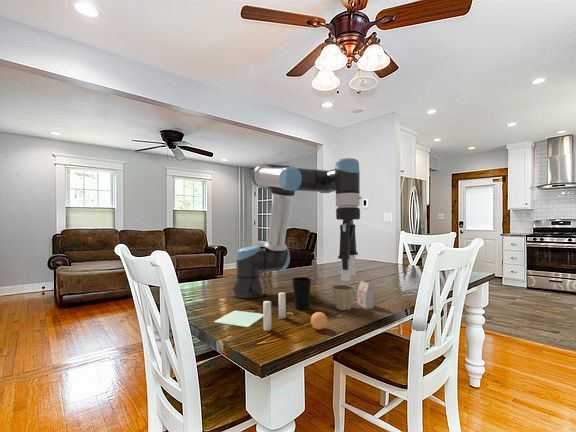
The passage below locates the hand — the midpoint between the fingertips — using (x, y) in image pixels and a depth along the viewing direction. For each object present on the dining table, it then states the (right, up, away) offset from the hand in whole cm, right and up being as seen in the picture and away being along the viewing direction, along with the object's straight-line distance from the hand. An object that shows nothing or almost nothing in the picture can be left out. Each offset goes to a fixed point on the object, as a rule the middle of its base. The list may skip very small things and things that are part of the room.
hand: (348, 277), depth 92 cm
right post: (-22, -18, +15) cm, 32 cm away
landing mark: (-37, -18, +15) cm, 44 cm away
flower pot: (+3, -19, +26) cm, 32 cm away
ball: (-9, -15, +3) cm, 18 cm away
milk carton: (+13, -19, +29) cm, 37 cm away
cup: (-14, -19, +27) cm, 35 cm away
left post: (-26, -18, +3) cm, 32 cm away
